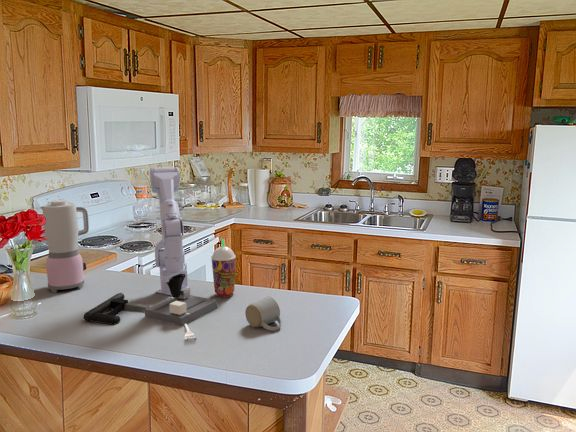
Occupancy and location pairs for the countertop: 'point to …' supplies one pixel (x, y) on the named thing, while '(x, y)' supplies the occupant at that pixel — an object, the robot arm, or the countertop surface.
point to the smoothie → (223, 271)
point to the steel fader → (184, 293)
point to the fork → (188, 332)
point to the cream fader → (178, 307)
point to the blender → (64, 245)
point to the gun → (112, 303)
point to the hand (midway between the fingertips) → (175, 296)
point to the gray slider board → (194, 310)
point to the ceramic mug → (263, 313)
